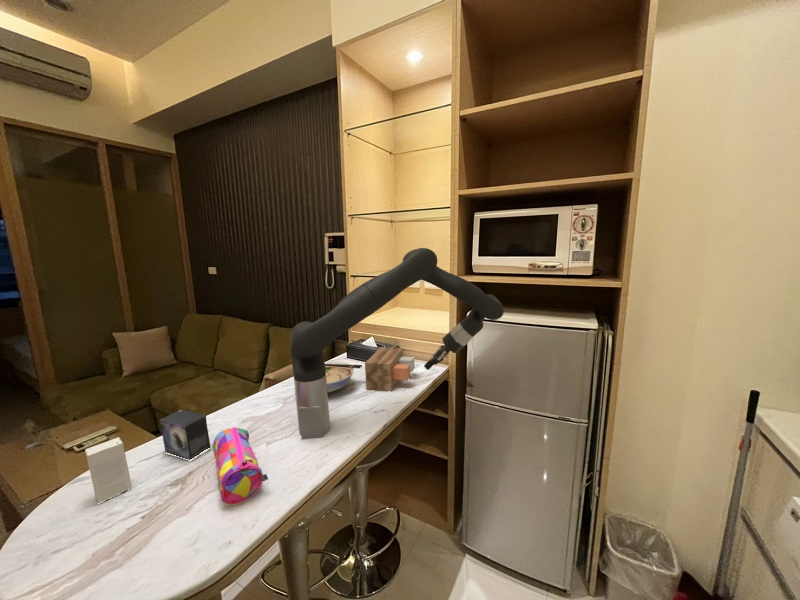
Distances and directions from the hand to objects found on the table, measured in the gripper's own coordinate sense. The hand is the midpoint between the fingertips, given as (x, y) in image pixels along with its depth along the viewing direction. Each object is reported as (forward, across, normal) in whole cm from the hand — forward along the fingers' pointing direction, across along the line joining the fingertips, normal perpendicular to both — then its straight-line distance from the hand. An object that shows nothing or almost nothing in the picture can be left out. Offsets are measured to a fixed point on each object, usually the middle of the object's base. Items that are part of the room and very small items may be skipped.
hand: (425, 367), depth 121 cm
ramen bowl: (+34, +7, -21) cm, 41 cm away
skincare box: (+51, +67, -38) cm, 92 cm away
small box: (+48, +51, -35) cm, 79 cm away
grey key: (+11, -9, -4) cm, 15 cm away
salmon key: (+11, 0, -4) cm, 11 cm away
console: (+19, -5, -7) cm, 20 cm away
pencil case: (+33, +57, -20) cm, 69 cm away
